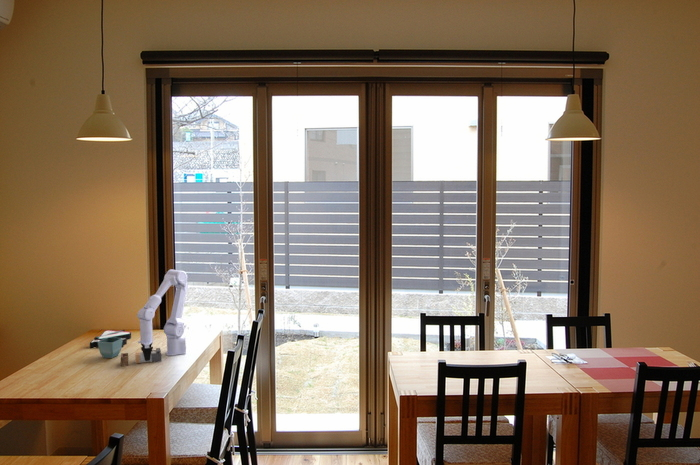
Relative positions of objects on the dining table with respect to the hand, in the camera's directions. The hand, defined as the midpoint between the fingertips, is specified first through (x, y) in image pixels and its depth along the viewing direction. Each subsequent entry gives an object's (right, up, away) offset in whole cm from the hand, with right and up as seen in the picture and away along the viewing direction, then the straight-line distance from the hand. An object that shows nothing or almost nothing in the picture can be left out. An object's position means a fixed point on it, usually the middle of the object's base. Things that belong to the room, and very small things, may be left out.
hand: (147, 358), depth 266 cm
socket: (-10, -2, -4) cm, 11 cm away
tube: (0, -1, 0) cm, 1 cm away
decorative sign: (-34, 0, +36) cm, 49 cm away
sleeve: (+4, -1, +2) cm, 4 cm away
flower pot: (-22, -1, +8) cm, 23 cm away
